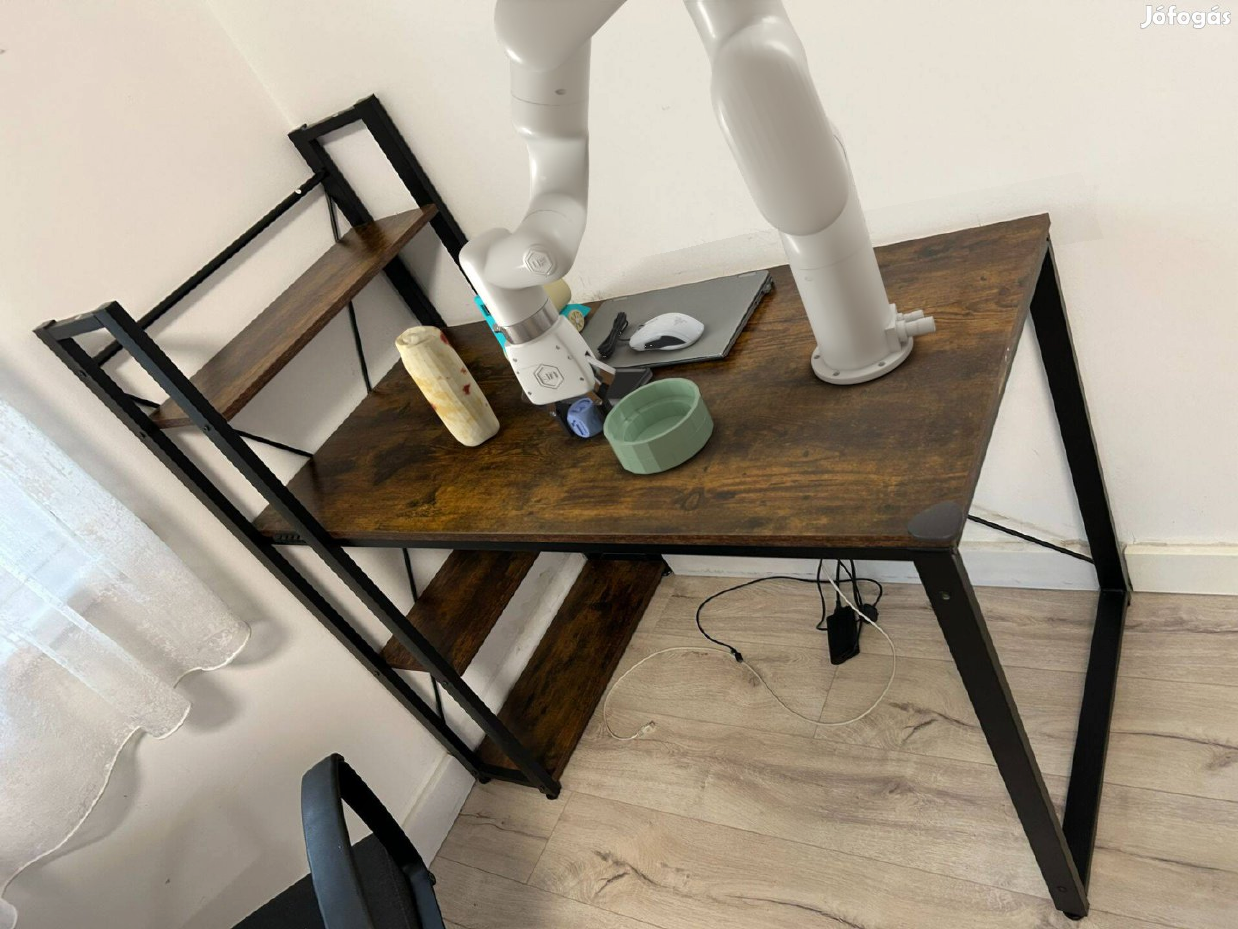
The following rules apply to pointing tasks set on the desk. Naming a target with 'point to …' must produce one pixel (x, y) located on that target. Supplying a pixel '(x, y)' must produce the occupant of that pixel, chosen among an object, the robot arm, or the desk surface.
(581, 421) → the decorative dice
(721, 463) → the desk surface
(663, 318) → the computer mouse
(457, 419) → the food model
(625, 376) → the phone
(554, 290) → the toy train
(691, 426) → the bowl
